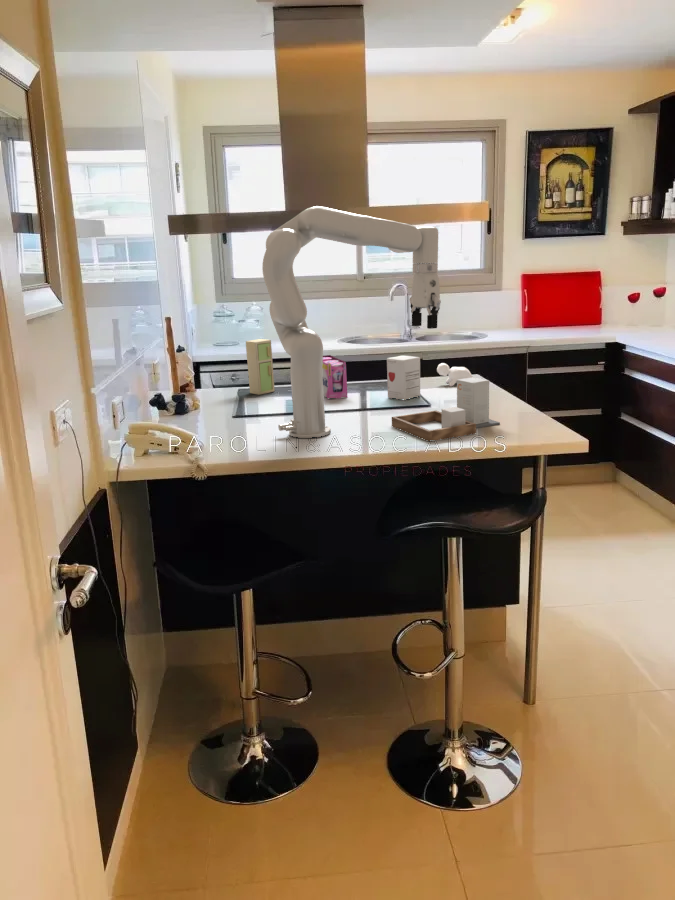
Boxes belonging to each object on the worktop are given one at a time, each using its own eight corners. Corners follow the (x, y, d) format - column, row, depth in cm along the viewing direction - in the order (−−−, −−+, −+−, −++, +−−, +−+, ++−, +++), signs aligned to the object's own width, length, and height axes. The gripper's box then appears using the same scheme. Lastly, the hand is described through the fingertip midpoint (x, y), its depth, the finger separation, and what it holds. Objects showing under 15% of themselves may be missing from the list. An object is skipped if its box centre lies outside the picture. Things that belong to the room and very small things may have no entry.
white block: (450, 435, 203) (450, 412, 202) (441, 432, 208) (441, 409, 206) (465, 433, 205) (465, 409, 203) (455, 429, 210) (455, 406, 208)
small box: (489, 422, 214) (490, 380, 211) (473, 425, 211) (473, 382, 208) (471, 417, 221) (472, 376, 217) (456, 420, 218) (456, 379, 214)
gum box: (349, 398, 263) (347, 362, 260) (329, 400, 261) (327, 364, 258) (332, 387, 286) (330, 354, 282) (313, 389, 284) (311, 356, 280)
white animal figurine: (465, 389, 286) (431, 377, 284) (473, 369, 284) (438, 357, 282) (469, 393, 278) (434, 380, 276) (478, 372, 276) (442, 360, 274)
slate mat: (469, 429, 209) (469, 427, 209) (449, 422, 219) (449, 420, 219) (499, 424, 214) (499, 422, 213) (478, 417, 223) (478, 415, 223)
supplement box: (386, 398, 260) (385, 358, 256) (403, 394, 266) (402, 354, 262) (404, 401, 253) (404, 359, 249) (421, 396, 259) (420, 356, 255)
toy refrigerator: (260, 395, 277) (256, 342, 271) (249, 393, 282) (245, 340, 276) (276, 392, 282) (272, 339, 276) (265, 390, 287) (261, 338, 282)
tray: (428, 441, 198) (428, 431, 197) (391, 426, 217) (391, 416, 216) (476, 433, 204) (476, 423, 203) (436, 419, 223) (435, 410, 223)
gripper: (450, 269, 204) (449, 328, 209) (422, 269, 220) (421, 324, 224) (428, 270, 202) (427, 330, 206) (400, 269, 217) (400, 325, 222)
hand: (424, 327), depth 215 cm, fingers open, 9 cm apart
